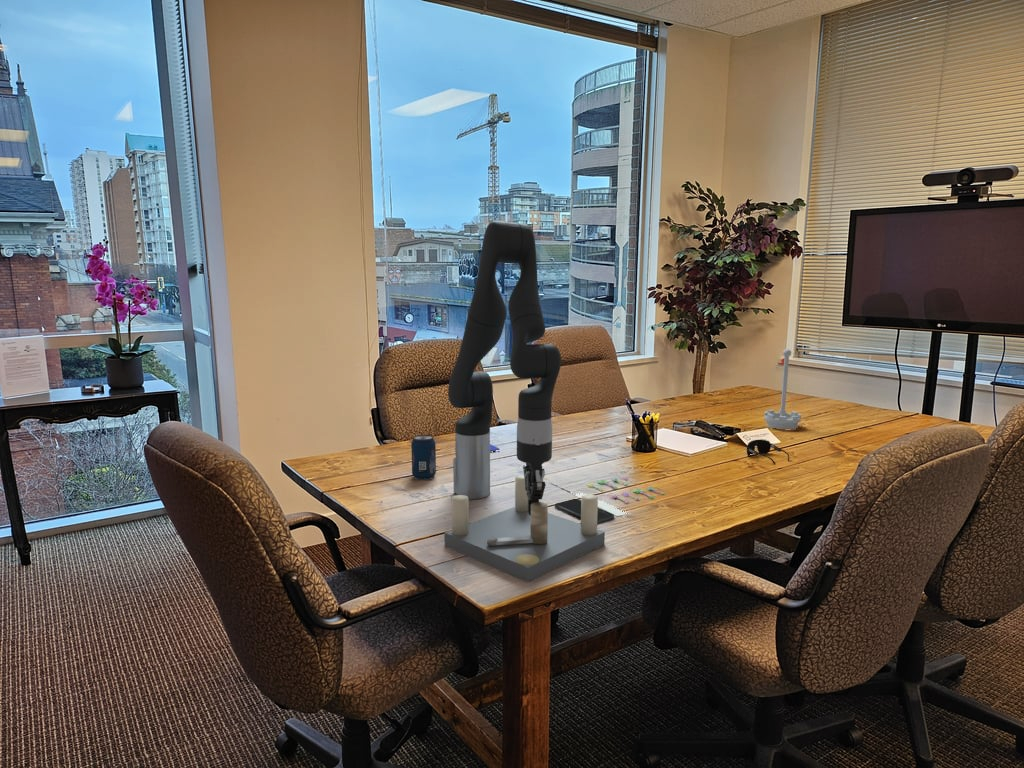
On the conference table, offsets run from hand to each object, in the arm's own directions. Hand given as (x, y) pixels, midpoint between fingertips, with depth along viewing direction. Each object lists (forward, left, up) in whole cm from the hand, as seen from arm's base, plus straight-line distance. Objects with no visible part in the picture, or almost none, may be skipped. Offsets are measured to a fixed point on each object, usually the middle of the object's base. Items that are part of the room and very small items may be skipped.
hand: (533, 514), depth 147 cm
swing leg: (+1, -6, -4) cm, 8 cm away
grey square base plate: (-2, 0, -8) cm, 8 cm away
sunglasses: (+7, +104, -8) cm, 105 cm away
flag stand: (-7, +150, -8) cm, 150 cm away
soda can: (-56, +15, -8) cm, 58 cm away
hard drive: (-65, +44, -8) cm, 79 cm away
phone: (-5, +25, -8) cm, 26 cm away
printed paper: (-8, +47, -9) cm, 48 cm away
